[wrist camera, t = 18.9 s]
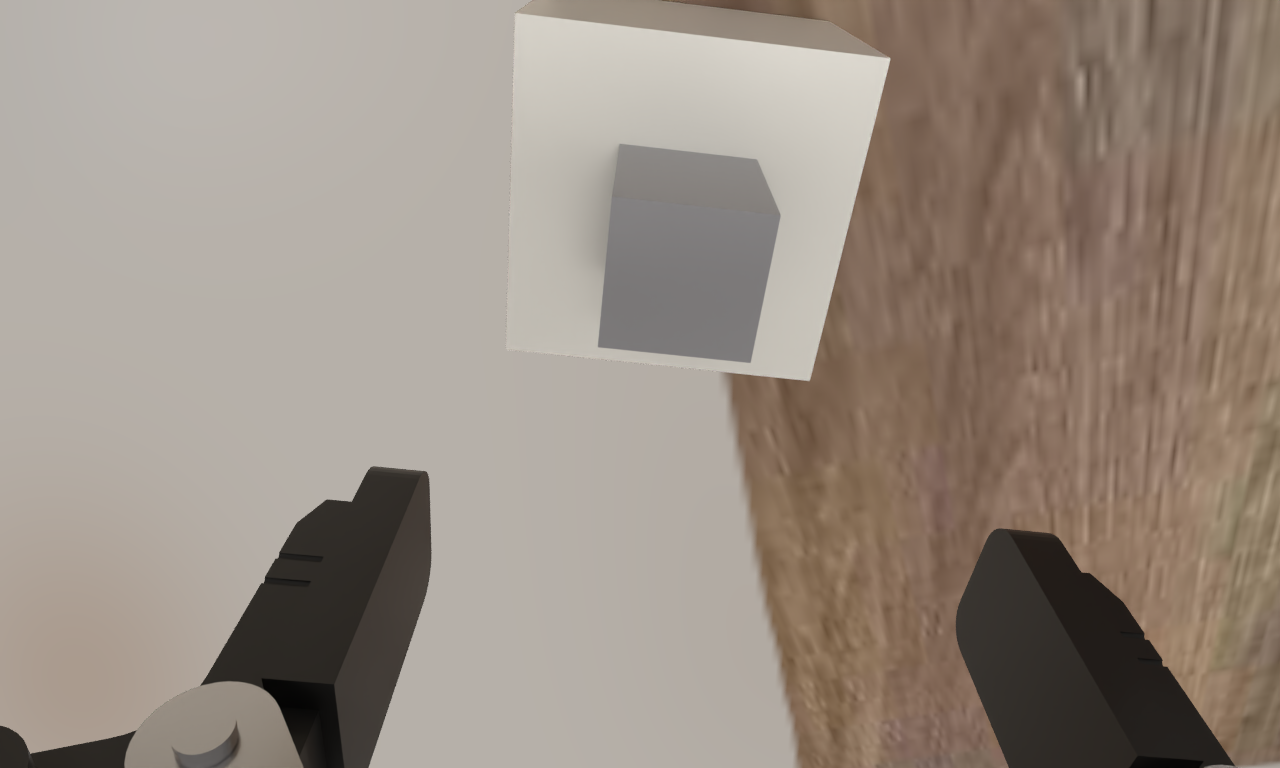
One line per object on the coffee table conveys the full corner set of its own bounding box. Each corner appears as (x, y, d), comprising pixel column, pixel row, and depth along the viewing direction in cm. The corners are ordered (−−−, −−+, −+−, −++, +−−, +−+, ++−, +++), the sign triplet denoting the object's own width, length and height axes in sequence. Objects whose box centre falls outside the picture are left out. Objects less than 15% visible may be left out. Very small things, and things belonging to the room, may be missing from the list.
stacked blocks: (829, 21, 29) (949, 94, 17) (775, 278, 35) (839, 469, 23) (551, -14, 29) (479, 37, 17) (538, 252, 34) (476, 434, 22)
